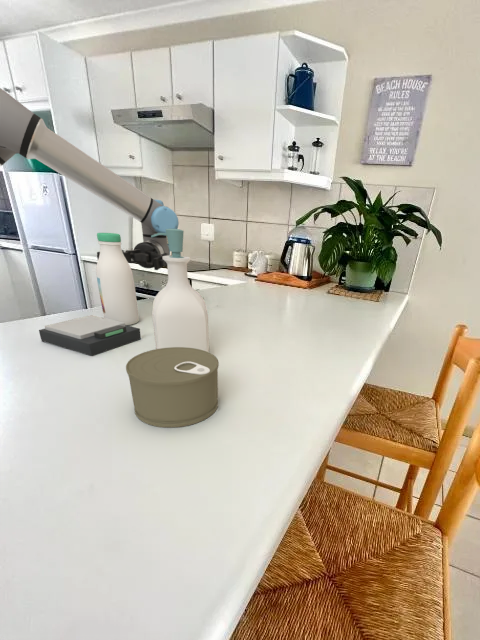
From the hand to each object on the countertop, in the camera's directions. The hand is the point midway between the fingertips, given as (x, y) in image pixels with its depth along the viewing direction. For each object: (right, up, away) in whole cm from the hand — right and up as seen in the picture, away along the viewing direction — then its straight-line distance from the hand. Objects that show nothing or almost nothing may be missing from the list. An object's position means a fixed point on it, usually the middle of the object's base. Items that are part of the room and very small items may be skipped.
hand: (127, 262), depth 83 cm
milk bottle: (0, -16, -3) cm, 16 cm away
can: (+25, -35, -35) cm, 56 cm away
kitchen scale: (0, -22, -15) cm, 27 cm away
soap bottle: (+20, -25, -18) cm, 38 cm away
